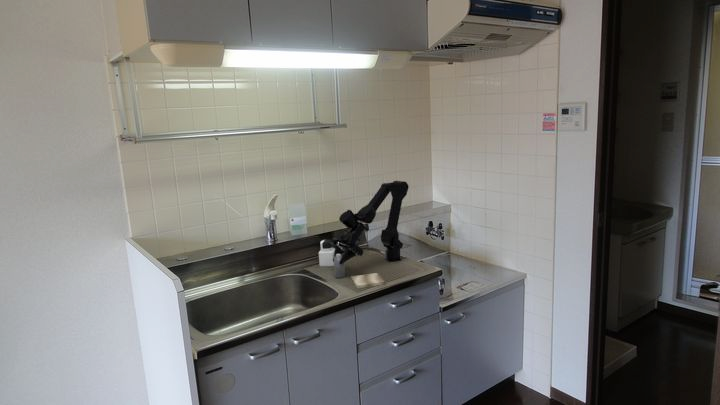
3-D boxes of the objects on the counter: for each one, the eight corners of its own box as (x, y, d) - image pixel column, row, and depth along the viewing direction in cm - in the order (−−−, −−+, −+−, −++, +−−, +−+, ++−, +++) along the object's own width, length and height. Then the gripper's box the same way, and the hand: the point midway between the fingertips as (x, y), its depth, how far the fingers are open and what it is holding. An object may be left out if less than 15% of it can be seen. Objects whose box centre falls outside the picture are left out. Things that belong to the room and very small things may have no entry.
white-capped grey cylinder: (341, 273, 215) (339, 252, 213) (347, 275, 211) (345, 254, 209) (333, 276, 212) (331, 254, 210) (339, 278, 209) (337, 256, 207)
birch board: (377, 275, 211) (376, 272, 210) (384, 284, 199) (384, 281, 199) (351, 279, 208) (351, 276, 208) (357, 288, 196) (357, 285, 196)
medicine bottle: (336, 261, 233) (334, 238, 231) (333, 266, 227) (332, 242, 224) (322, 261, 234) (320, 238, 232) (319, 266, 227) (317, 242, 225)
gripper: (331, 221, 217) (313, 249, 212) (356, 227, 202) (338, 257, 198) (346, 234, 223) (328, 261, 218) (371, 241, 209) (353, 270, 204)
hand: (336, 262), depth 210 cm, fingers closed on white-capped grey cylinder, 5 cm apart
